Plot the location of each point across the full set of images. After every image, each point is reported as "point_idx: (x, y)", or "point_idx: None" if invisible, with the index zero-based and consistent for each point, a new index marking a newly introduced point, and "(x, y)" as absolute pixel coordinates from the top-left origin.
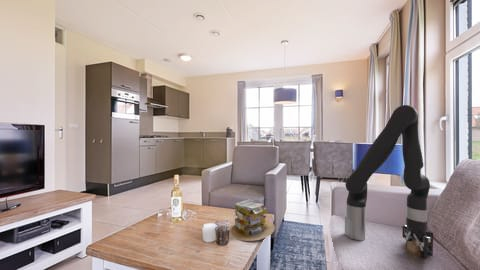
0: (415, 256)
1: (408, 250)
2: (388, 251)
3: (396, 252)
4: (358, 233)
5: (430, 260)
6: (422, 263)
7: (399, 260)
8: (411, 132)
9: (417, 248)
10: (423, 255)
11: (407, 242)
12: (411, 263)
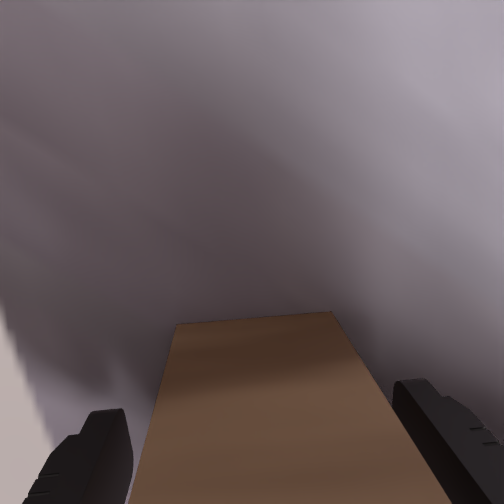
0: (171, 360)
1: (317, 352)
2: (396, 4)
3: (362, 157)
4: None
5: None
6: (69, 358)
7: (59, 7)
8: None
9: None
10: (47, 482)
11: (427, 486)
12: (10, 186)
